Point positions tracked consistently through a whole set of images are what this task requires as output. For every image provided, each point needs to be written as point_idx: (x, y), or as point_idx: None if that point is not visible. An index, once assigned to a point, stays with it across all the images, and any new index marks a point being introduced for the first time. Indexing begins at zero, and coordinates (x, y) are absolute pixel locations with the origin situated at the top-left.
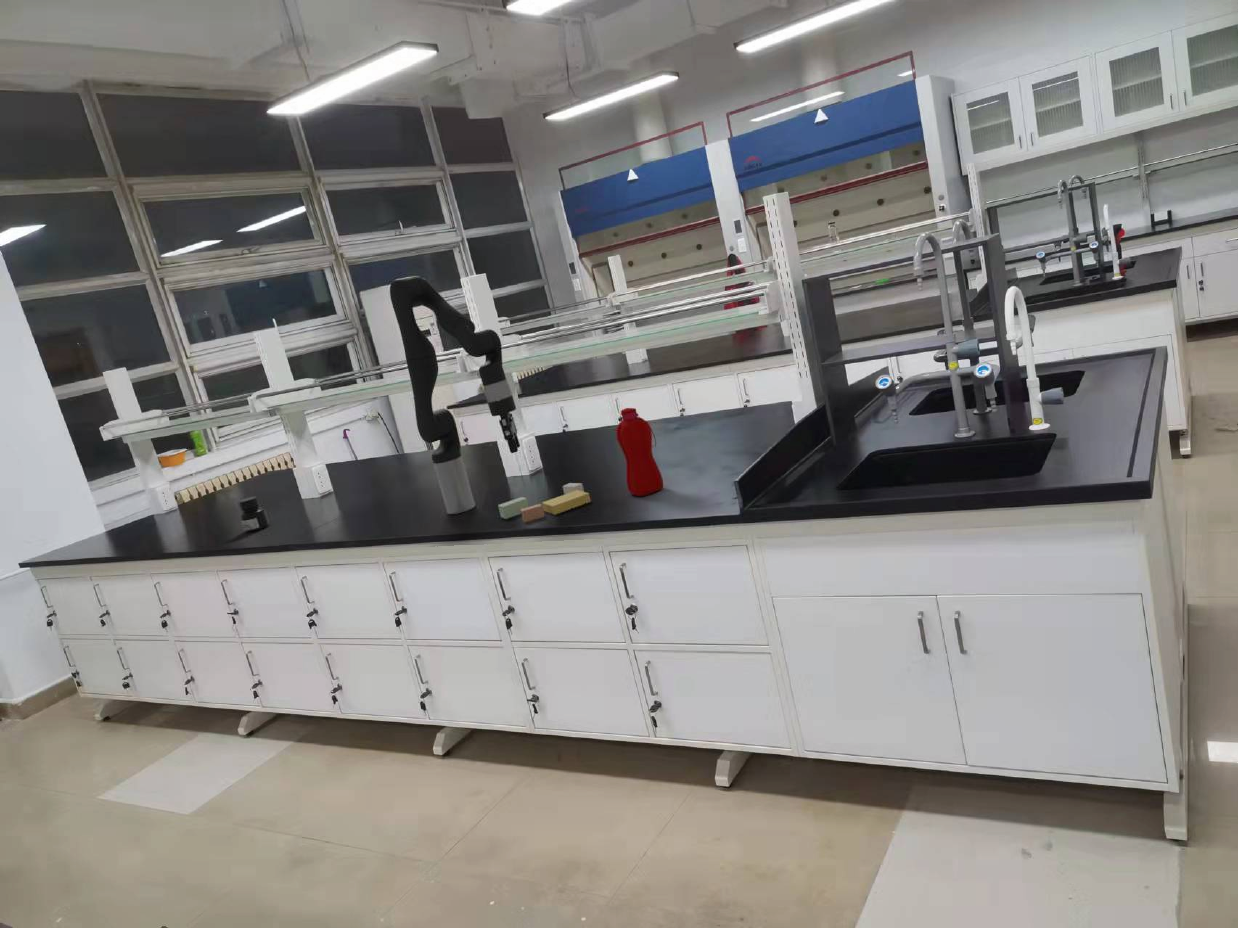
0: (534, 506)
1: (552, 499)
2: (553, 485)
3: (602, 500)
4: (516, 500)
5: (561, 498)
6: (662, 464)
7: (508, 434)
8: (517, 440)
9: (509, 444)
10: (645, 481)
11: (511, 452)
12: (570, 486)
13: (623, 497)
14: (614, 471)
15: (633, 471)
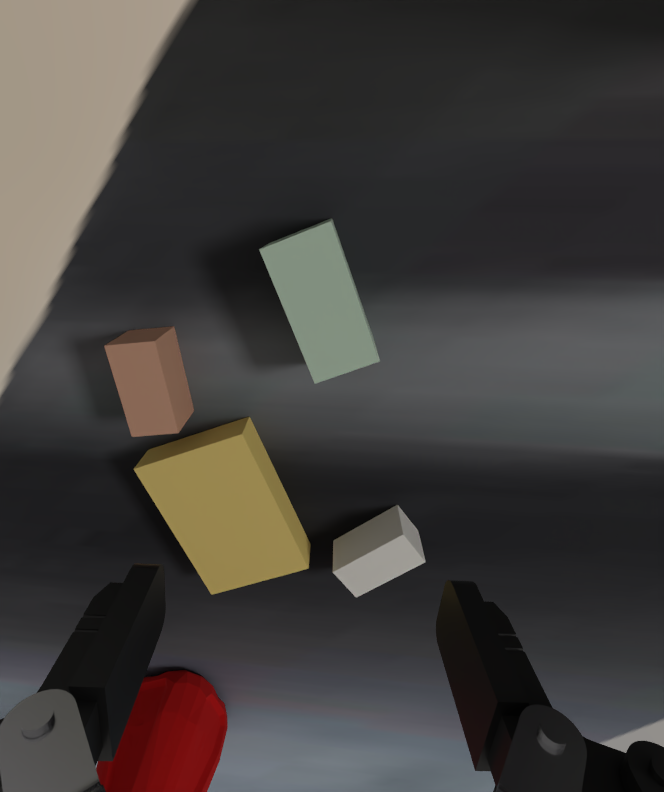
0: (146, 406)
1: (252, 477)
2: (654, 480)
3: (197, 598)
4: (329, 331)
5: (232, 508)
6: (462, 765)
7: (510, 748)
8: (458, 694)
9: (60, 658)
10: None
11: (135, 569)
12: (358, 559)
13: (174, 647)
14: (563, 669)
15: (100, 771)
